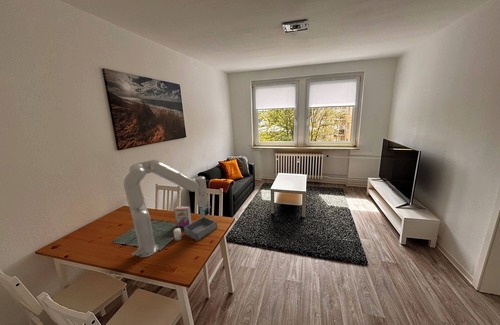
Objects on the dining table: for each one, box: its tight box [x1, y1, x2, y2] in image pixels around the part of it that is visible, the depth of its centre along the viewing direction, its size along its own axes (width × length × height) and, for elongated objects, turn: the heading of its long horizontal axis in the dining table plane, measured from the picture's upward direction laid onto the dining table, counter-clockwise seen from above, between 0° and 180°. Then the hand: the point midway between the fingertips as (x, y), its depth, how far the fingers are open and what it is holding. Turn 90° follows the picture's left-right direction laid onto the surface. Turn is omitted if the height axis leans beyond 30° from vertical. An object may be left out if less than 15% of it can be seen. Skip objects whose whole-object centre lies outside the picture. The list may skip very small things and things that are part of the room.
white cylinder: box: [173, 227, 183, 241], centre depth 146 cm, size 5×5×7 cm
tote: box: [183, 215, 218, 242], centre depth 154 cm, size 20×16×6 cm
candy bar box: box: [173, 205, 193, 228], centre depth 161 cm, size 11×5×16 cm, turn 84°
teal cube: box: [199, 207, 207, 217], centre depth 154 cm, size 5×5×5 cm
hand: (204, 213), depth 155 cm, fingers closed on teal cube, 5 cm apart
